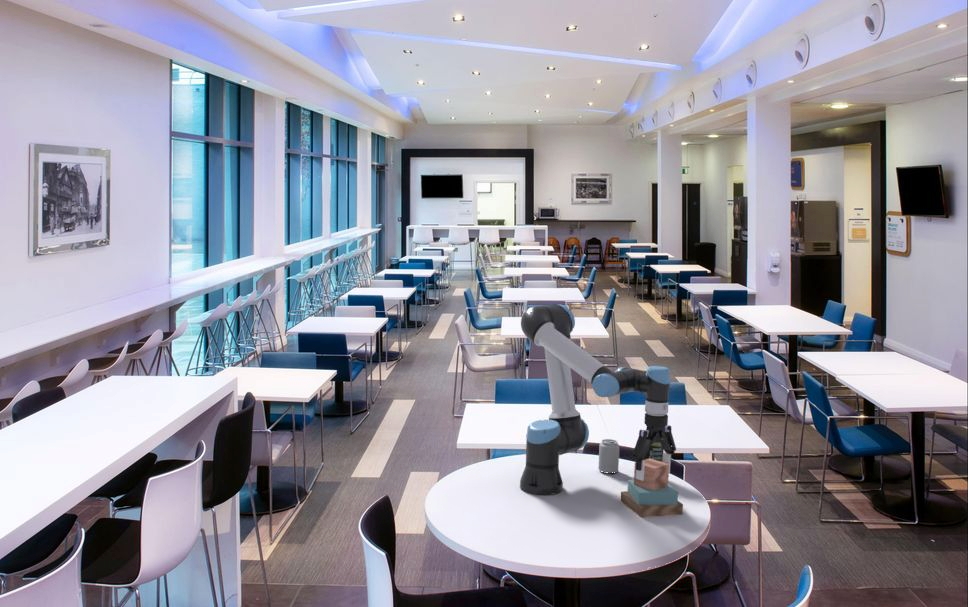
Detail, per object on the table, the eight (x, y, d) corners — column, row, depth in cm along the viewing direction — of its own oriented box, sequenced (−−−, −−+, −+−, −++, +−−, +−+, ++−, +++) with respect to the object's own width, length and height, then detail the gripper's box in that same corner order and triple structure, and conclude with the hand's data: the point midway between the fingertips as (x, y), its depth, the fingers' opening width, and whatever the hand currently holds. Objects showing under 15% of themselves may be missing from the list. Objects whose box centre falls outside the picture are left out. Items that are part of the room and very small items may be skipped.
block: (653, 490, 256) (654, 468, 255) (633, 484, 262) (634, 462, 261) (668, 486, 261) (669, 464, 260) (648, 479, 267) (649, 458, 266)
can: (617, 475, 294) (619, 444, 293) (597, 473, 296) (599, 442, 295) (618, 469, 302) (619, 439, 300) (598, 467, 303) (600, 437, 302)
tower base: (640, 519, 252) (641, 507, 252) (620, 503, 267) (621, 491, 266) (682, 516, 256) (683, 504, 256) (660, 500, 271) (660, 488, 270)
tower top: (638, 504, 254) (639, 492, 254) (627, 491, 267) (628, 479, 267) (677, 504, 255) (678, 492, 255) (664, 491, 268) (665, 479, 268)
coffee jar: (641, 482, 287) (644, 433, 285) (634, 475, 295) (636, 427, 293) (666, 482, 288) (669, 432, 286) (658, 475, 296) (661, 427, 294)
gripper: (640, 420, 248) (637, 485, 250) (688, 411, 264) (685, 472, 266) (622, 415, 254) (619, 479, 256) (670, 406, 269) (667, 466, 272)
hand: (653, 475), depth 261 cm, fingers open, 13 cm apart
